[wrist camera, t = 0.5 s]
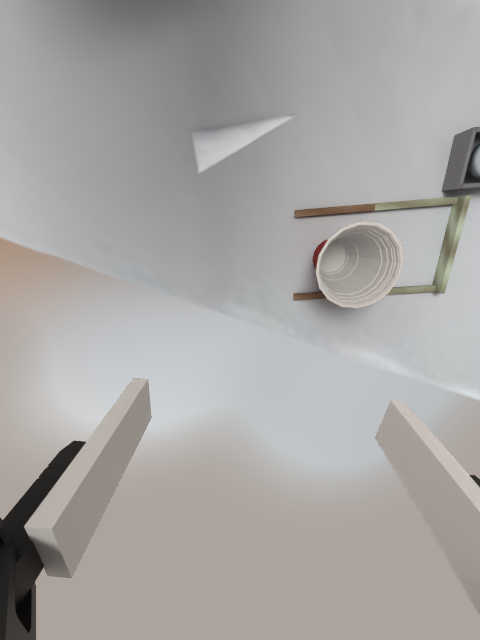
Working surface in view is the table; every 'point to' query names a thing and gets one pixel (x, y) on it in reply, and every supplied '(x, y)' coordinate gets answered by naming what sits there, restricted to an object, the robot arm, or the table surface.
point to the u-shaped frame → (454, 220)
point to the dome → (475, 162)
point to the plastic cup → (358, 264)
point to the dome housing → (462, 161)
